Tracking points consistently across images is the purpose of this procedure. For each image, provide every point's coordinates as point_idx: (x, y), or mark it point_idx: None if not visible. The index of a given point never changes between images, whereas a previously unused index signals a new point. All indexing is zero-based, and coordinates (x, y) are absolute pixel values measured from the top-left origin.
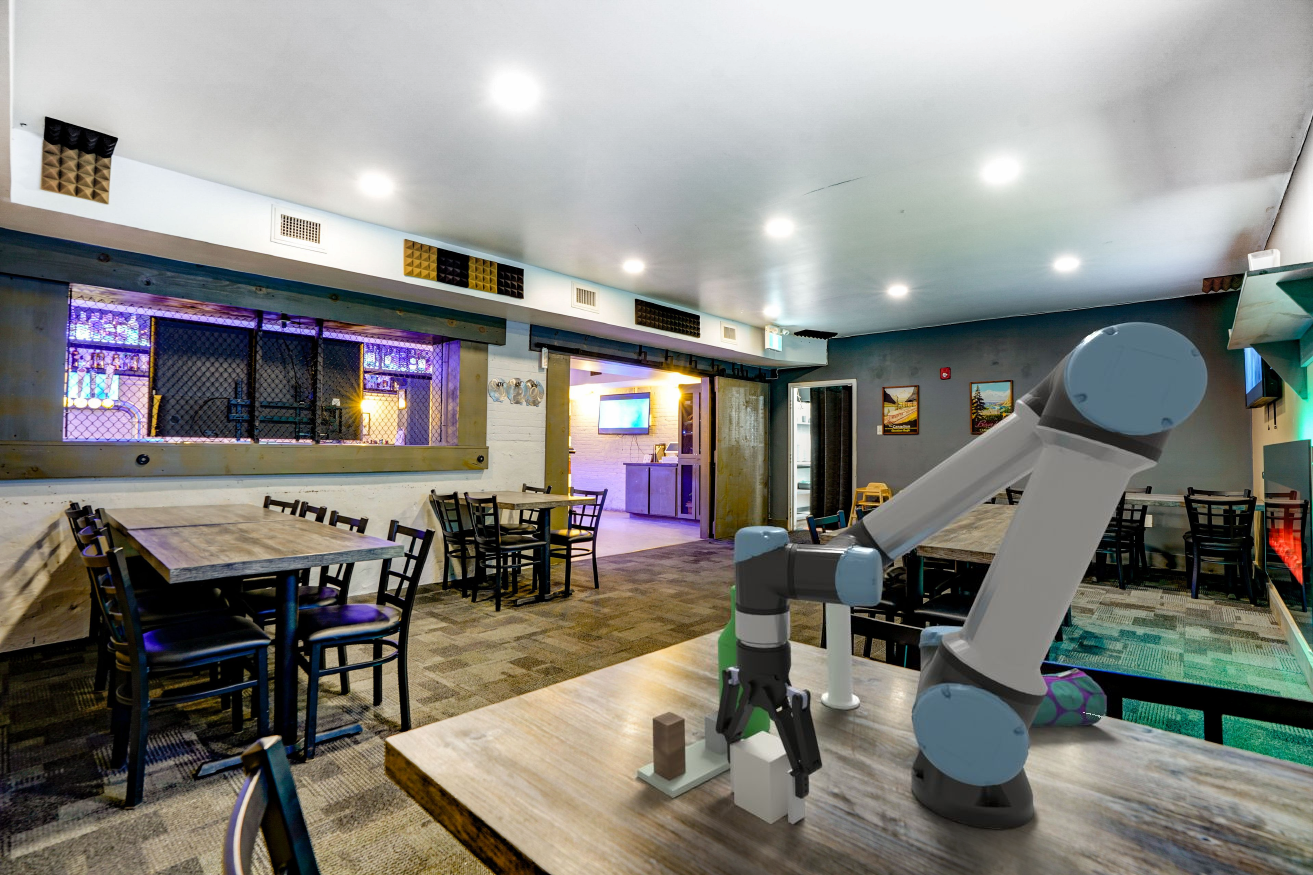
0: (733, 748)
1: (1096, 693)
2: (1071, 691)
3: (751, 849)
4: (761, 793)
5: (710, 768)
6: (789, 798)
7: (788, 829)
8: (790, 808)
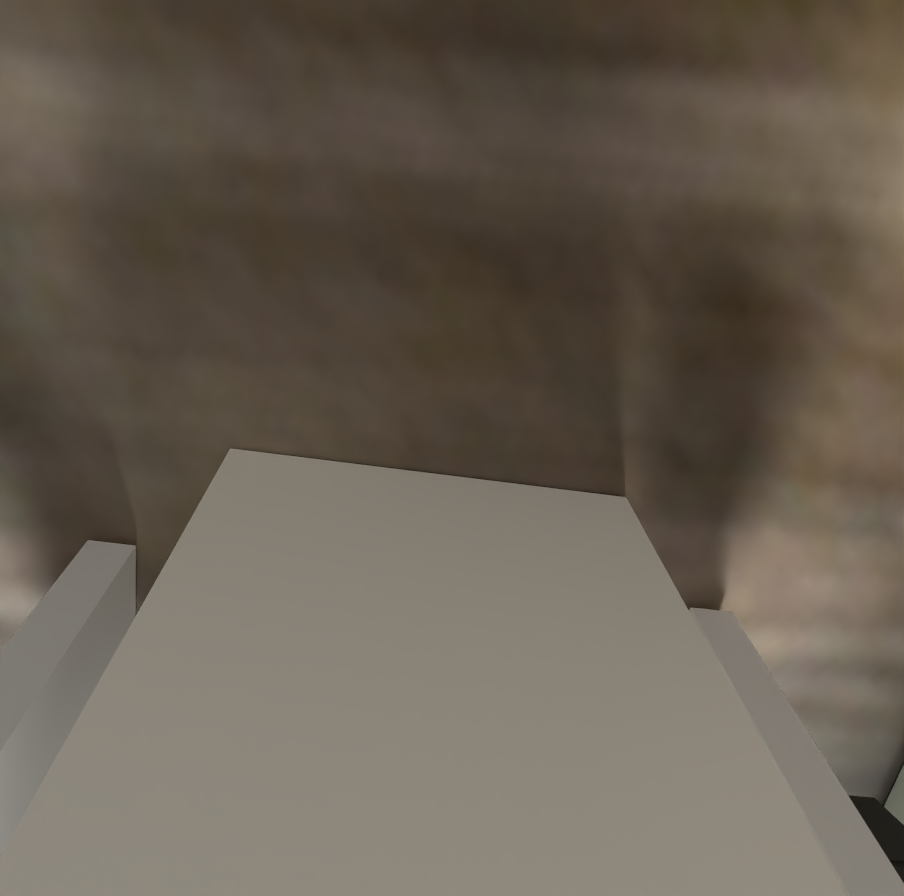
0: None
1: None
2: None
3: (131, 22)
4: (295, 569)
5: None
6: (27, 665)
7: (88, 475)
8: (60, 608)
